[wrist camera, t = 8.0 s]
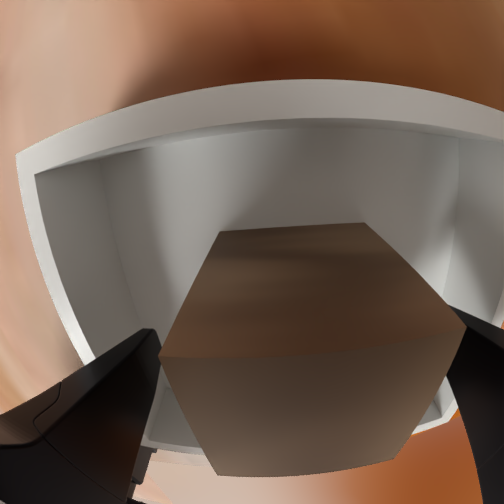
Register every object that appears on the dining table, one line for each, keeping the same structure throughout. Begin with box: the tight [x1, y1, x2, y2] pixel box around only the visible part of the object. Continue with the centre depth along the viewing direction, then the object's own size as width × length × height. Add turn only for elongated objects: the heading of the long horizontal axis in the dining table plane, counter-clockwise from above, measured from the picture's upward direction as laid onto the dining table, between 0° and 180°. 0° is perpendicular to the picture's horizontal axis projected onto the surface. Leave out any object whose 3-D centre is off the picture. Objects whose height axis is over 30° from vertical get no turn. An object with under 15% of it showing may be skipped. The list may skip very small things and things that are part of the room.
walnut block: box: [158, 222, 467, 477], centre depth 7 cm, size 5×5×6 cm
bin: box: [15, 79, 504, 455], centre depth 9 cm, size 15×13×4 cm
